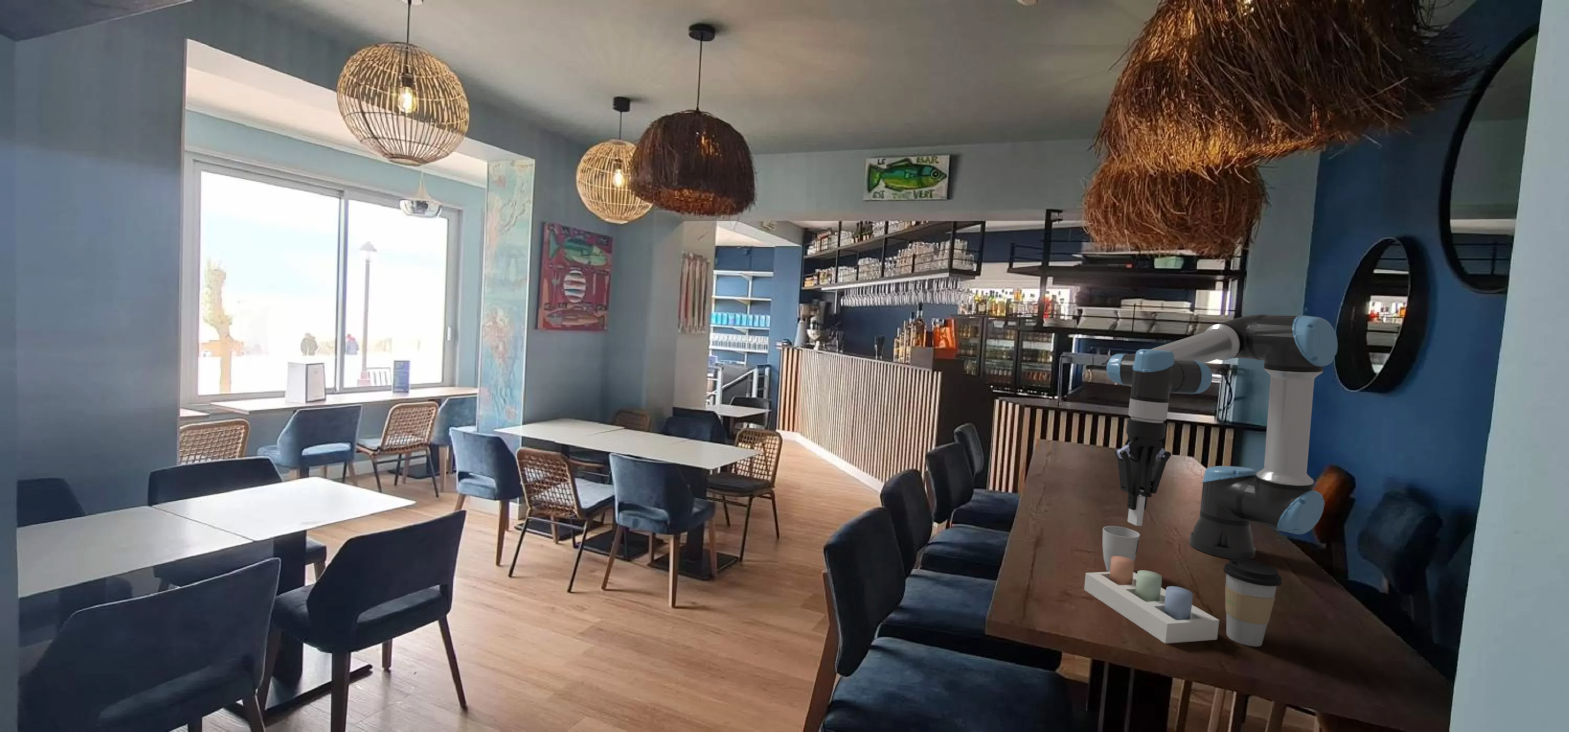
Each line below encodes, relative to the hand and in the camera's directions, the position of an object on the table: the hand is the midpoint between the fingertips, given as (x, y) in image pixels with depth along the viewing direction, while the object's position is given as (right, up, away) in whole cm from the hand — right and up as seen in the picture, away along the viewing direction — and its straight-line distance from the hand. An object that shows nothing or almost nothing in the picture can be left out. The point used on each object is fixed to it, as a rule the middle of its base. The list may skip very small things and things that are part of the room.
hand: (1134, 523), depth 148 cm
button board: (-1, -17, -7) cm, 19 cm away
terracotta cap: (-3, -13, 0) cm, 13 cm away
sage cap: (-1, -14, -7) cm, 16 cm away
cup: (+4, -16, +16) cm, 22 cm away
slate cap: (0, -15, -15) cm, 21 cm away
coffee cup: (+13, -19, -17) cm, 28 cm away
